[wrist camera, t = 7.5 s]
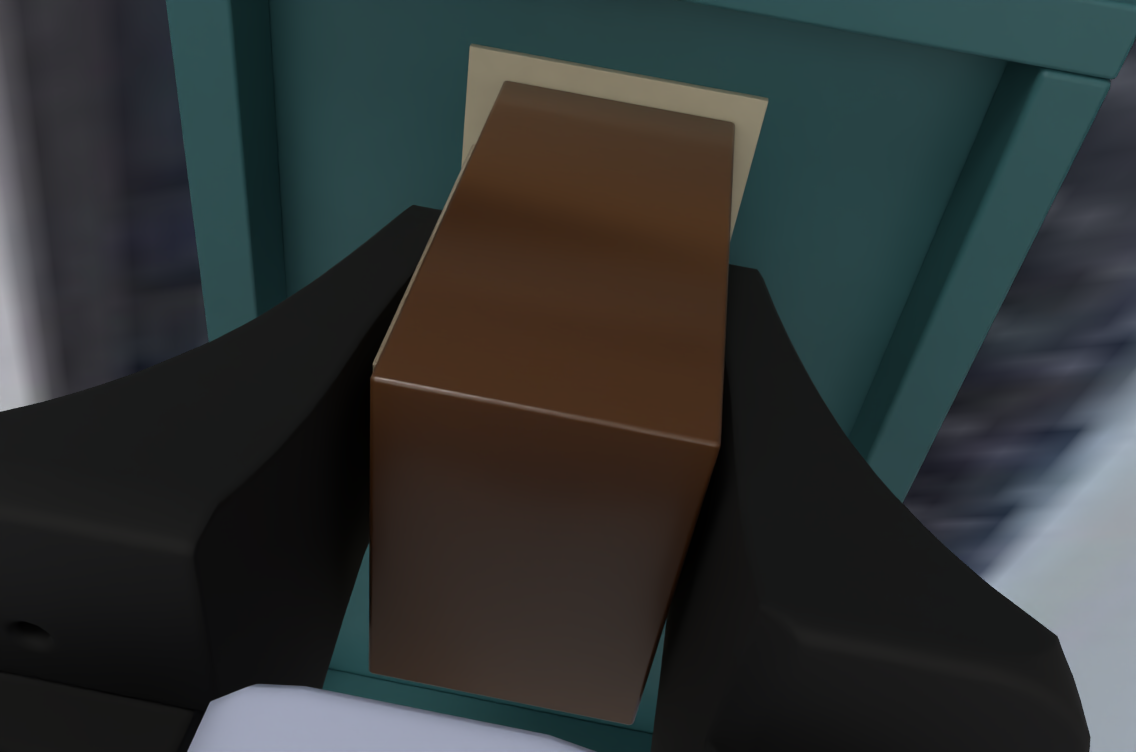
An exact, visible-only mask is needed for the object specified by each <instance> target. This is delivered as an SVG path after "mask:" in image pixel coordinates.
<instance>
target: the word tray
mask: <svg viewBox="0 0 1136 752" xmlns="http://www.w3.org/2000/svg"><path fill="white" fill-rule="evenodd" d="M166 5H167V13H168V21H169V29H170V37H171V45H172V53H173V61H174V69H175V77H176V85H177V93H178V101H179V109H180V117H181V125H182V132H183V140H184V148H185V156H186V164H187V172H188V180H189V188H190V196H191V204H192V212H193V220H194V228H195V236H196V244H197V252H198V259H199V267H200V275H201V283H202V291H203V299H204V307H205V315H206V323H207V331H208V339H209V342H211V341H213V340H215V339H217V338H219V337H221V336H222V335H224V334H226V333H228V332H230V331H232V330H234V329H236V328H238V327H240V326H242V325H244V324H246V323H248V322H249V321H251V320H253V319H255V318H257V317H258V316H260V315H262V314H264V313H265V312H267V311H268V310H270V309H272V308H273V307H275V306H276V305H278V304H279V303H281V302H282V301H284V300H285V299H287V298H288V297H290V296H292V295H293V294H295V293H296V292H298V291H299V290H301V289H302V288H304V287H305V286H307V285H308V284H310V283H311V282H313V281H314V280H315V279H317V278H318V277H320V276H321V275H322V274H324V273H325V272H326V271H328V270H329V269H330V268H332V267H333V266H334V265H336V264H337V263H339V262H340V261H341V260H343V259H344V258H345V257H347V256H348V255H349V254H351V253H352V252H353V251H354V250H356V249H357V248H358V247H360V246H361V245H362V244H363V243H365V242H366V241H367V240H368V239H370V238H371V237H372V236H373V235H375V234H376V233H377V232H378V231H380V230H381V229H382V228H383V227H384V226H386V225H387V224H388V223H389V222H391V221H392V220H393V219H394V218H395V217H397V216H398V215H399V214H401V213H402V212H403V211H404V210H406V209H407V208H409V207H410V206H412V205H417V206H423V207H428V208H433V209H439V210H443V208H444V206H445V204H446V201H447V199H448V197H449V195H450V193H451V190H452V188H453V186H454V184H455V182H456V179H457V177H458V175H459V173H460V171H461V165H462V151H463V136H464V122H465V107H466V92H467V78H468V63H469V48H470V45H471V44H477V45H482V46H488V47H493V48H499V49H504V50H509V51H515V52H520V53H526V54H531V55H537V56H542V57H548V58H553V59H558V60H564V61H569V62H575V63H580V64H586V65H591V66H597V67H602V68H607V69H613V70H618V71H624V72H629V73H635V74H640V75H645V76H651V77H656V78H662V79H667V80H673V81H678V82H684V83H689V84H694V85H700V86H705V87H711V88H716V89H722V90H727V91H733V92H738V93H743V94H749V95H754V96H760V97H765V98H768V105H767V109H766V112H765V116H764V120H763V123H762V127H761V131H760V134H759V138H758V142H757V145H756V149H755V153H754V156H753V160H752V164H751V167H750V171H749V175H748V178H747V182H746V186H745V189H744V193H743V196H742V200H741V204H740V207H739V211H738V215H737V218H736V222H735V226H734V229H733V233H732V237H731V240H730V253H729V264H732V265H737V266H742V267H748V268H753V269H758V271H759V272H760V274H761V276H762V277H763V279H764V281H765V284H766V286H767V289H768V291H769V294H770V296H771V299H772V301H773V303H774V306H775V308H776V310H777V313H778V315H779V317H780V319H781V321H782V324H783V326H784V328H785V330H786V332H787V334H788V336H789V338H790V340H791V342H792V344H793V346H794V348H795V350H796V352H797V354H798V356H799V358H800V360H801V361H802V363H803V365H804V367H805V369H806V371H807V373H808V374H809V376H810V378H811V380H812V382H813V383H814V385H815V387H816V389H817V390H818V392H819V394H820V395H821V397H822V399H823V400H824V402H825V404H826V405H827V407H828V408H829V410H830V411H831V413H832V415H833V416H834V418H835V419H836V421H837V422H838V424H839V425H840V427H841V428H842V430H843V431H844V433H845V434H846V436H847V437H848V439H849V440H850V441H851V443H852V444H853V445H854V447H855V448H856V449H857V450H858V452H859V453H860V454H861V456H862V457H863V458H864V459H865V461H866V462H867V463H868V464H869V466H870V467H871V468H872V470H873V471H874V472H875V473H876V475H877V476H878V477H879V478H880V479H881V480H882V481H883V483H884V484H885V485H886V486H887V487H888V488H889V489H890V491H891V492H892V493H893V494H894V495H895V496H896V497H897V498H898V499H899V500H900V501H901V502H902V503H903V501H904V499H905V497H906V495H907V493H908V491H909V489H910V487H911V485H912V483H913V481H914V479H915V477H916V475H917V473H918V471H919V469H920V467H921V465H922V463H923V461H924V459H925V457H926V455H927V453H928V451H929V449H930V447H931V445H932V443H933V441H934V439H935V437H936V435H937V433H938V431H939V429H940V427H941V425H942V423H943V421H944V419H945V417H946V415H947V413H948V411H949V409H950V407H951V405H952V403H953V401H954V399H955V397H956V395H957V393H958V391H959V389H960V387H961V385H962V383H963V381H964V379H965V377H966V375H967V373H968V371H969V369H970V367H971V365H972V363H973V361H974V359H975V357H976V355H977V353H978V351H979V349H980V347H981V345H982V343H983V341H984V339H985V337H986V335H987V333H988V331H989V329H990V327H991V325H992V323H993V321H994V319H995V317H996V315H997V313H998V311H999V309H1000V307H1001V305H1002V303H1003V301H1004V299H1005V297H1006V295H1007V293H1008V291H1009V289H1010V287H1011V285H1012V283H1013V281H1014V279H1015V277H1016V275H1017V273H1018V271H1019V269H1020V267H1021V265H1022V263H1023V261H1024V259H1025V257H1026V255H1027V253H1028V251H1029V249H1030V247H1031V245H1032V243H1033V241H1034V239H1035V237H1036V235H1037V233H1038V231H1039V229H1040V227H1041V225H1042V223H1043V221H1044V219H1045V217H1046V215H1047V213H1048V211H1049V209H1050V207H1051V205H1052V203H1053V201H1054V199H1055V197H1056V195H1057V193H1058V191H1059V189H1060V187H1061V185H1062V183H1063V181H1064V179H1065V177H1066V175H1067V173H1068V171H1069V169H1070V167H1071V165H1072V163H1073V161H1074V159H1075V157H1076V155H1077V153H1078V151H1079V149H1080V147H1081V145H1082V143H1083V141H1084V139H1085V137H1086V135H1087V133H1088V131H1089V129H1090V127H1091V125H1092V123H1093V121H1094V119H1095V117H1096V115H1097V113H1098V111H1099V109H1100V107H1101V105H1102V103H1103V101H1104V99H1105V97H1106V95H1107V93H1108V91H1109V89H1110V82H1111V81H1110V79H1115V78H1116V76H1117V75H1118V73H1119V71H1120V69H1121V67H1122V65H1123V63H1124V61H1125V59H1126V57H1127V55H1128V53H1129V51H1130V49H1131V47H1132V45H1133V43H1134V41H1135V39H1136V0H166ZM665 628H666V622H665V625H664V628H663V632H662V635H661V638H660V641H659V644H658V648H657V651H656V654H655V657H654V660H653V663H652V667H651V670H650V673H649V676H648V679H647V682H646V686H645V689H644V692H643V695H642V698H641V702H640V705H639V708H638V711H637V714H636V717H635V721H634V722H633V724H632V725H627V724H622V723H617V722H612V721H607V720H602V719H597V718H592V717H587V716H582V715H577V714H572V713H567V712H562V711H557V710H552V709H547V708H542V707H537V706H532V705H527V704H522V703H517V702H512V701H507V700H502V699H497V698H492V697H487V696H482V695H477V694H472V693H467V692H462V691H457V690H452V689H447V688H442V687H438V686H433V685H428V684H423V683H418V682H413V681H408V680H403V679H398V678H393V677H388V676H383V675H378V674H373V673H371V672H370V671H369V544H368V546H367V549H366V551H365V554H364V557H363V560H362V563H361V566H360V569H359V572H358V575H357V579H356V582H355V585H354V588H353V591H352V594H351V597H350V600H349V603H348V607H347V610H346V613H345V616H344V619H343V622H342V626H341V629H340V632H339V635H338V639H337V642H336V645H335V648H334V652H333V655H332V658H331V661H330V665H329V668H328V671H327V674H326V678H325V681H324V684H323V688H322V689H323V690H328V691H333V692H338V693H343V694H348V695H353V696H358V697H363V698H368V699H373V700H378V701H383V702H388V703H393V704H398V705H403V706H408V707H413V708H418V709H423V710H428V711H433V712H437V713H442V714H447V715H452V716H457V717H462V718H467V719H472V720H477V721H482V722H487V723H492V724H497V725H502V726H507V727H512V728H517V729H522V730H527V731H532V732H537V733H542V734H547V735H551V736H554V737H557V738H559V739H562V740H565V741H568V742H571V743H573V744H576V745H579V746H582V747H585V748H588V749H590V750H593V751H596V752H651V744H652V736H653V728H654V720H655V712H656V704H657V696H658V688H659V680H660V671H661V662H662V654H663V645H664V637H665Z"/></svg>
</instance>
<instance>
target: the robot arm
mask: <svg viewBox="0 0 1136 752" xmlns="http://www.w3.org/2000/svg"><path fill="white" fill-rule="evenodd" d="M441 212H442V210H439V209H433V208H428V207H423V206H417V205H412V206H410V207H409V208H407V209H406V210H404V211H403V212H402V213H401V214H399V215H398V216H397V217H395V218H394V219H393V220H392V221H391V222H389V223H388V224H387V225H386V226H384V227H383V228H382V229H381V230H380V231H378V232H377V233H376V234H375V235H373V236H372V237H371V238H370V239H368V240H367V241H366V242H365V243H363V244H362V245H361V246H360V247H358V248H357V249H356V250H354V251H353V252H352V253H351V254H349V255H348V256H347V257H345V258H344V259H343V260H341V261H340V262H339V263H337V264H336V265H334V266H333V267H332V268H330V269H329V270H328V271H326V272H325V273H324V274H322V275H321V276H320V277H318V278H317V279H315V280H314V281H313V282H311V283H310V284H308V285H307V286H305V287H304V288H302V289H301V290H299V291H298V292H296V293H295V294H293V295H292V296H290V297H288V298H287V299H285V300H284V301H282V302H281V303H279V304H278V305H276V306H275V307H273V308H272V309H270V310H268V311H267V312H265V313H264V314H262V315H260V316H258V317H257V318H255V319H253V320H251V321H249V322H248V323H246V324H244V325H242V326H240V327H238V328H236V329H234V330H232V331H230V332H228V333H226V334H224V335H222V336H221V337H219V338H217V339H215V340H213V341H211V342H208V343H206V344H204V345H202V346H200V347H197V348H195V349H193V350H190V351H188V352H185V353H183V354H181V355H178V356H176V357H173V358H171V359H169V360H166V361H164V362H161V363H159V364H157V365H154V366H152V367H149V368H147V369H145V370H142V371H140V372H137V373H134V374H131V375H128V376H126V377H123V378H120V379H117V380H114V381H111V382H108V383H105V384H102V385H99V386H96V387H93V388H89V389H86V390H83V391H79V392H76V393H73V394H70V395H66V396H63V397H59V398H55V399H52V400H48V401H45V402H41V403H36V404H32V405H28V406H24V407H19V408H15V409H11V410H6V411H2V412H0V752H596V751H593V750H590V749H588V748H585V747H582V746H579V745H576V744H573V743H571V742H568V741H565V740H562V739H559V738H557V737H554V736H551V735H547V734H542V733H537V732H532V731H527V730H522V729H517V728H512V727H507V726H502V725H497V724H492V723H487V722H482V721H477V720H472V719H467V718H462V717H457V716H452V715H447V714H442V713H437V712H433V711H428V710H423V709H418V708H413V707H408V706H403V705H398V704H393V703H388V702H383V701H378V700H373V699H368V698H363V697H358V696H353V695H348V694H343V693H338V692H333V691H328V690H323V689H322V688H323V684H324V681H325V678H326V674H327V671H328V668H329V665H330V661H331V658H332V655H333V652H334V648H335V645H336V642H337V639H338V635H339V632H340V629H341V626H342V622H343V619H344V616H345V613H346V610H347V607H348V603H349V600H350V597H351V594H352V591H353V588H354V585H355V582H356V579H357V575H358V572H359V569H360V566H361V563H362V560H363V557H364V554H365V551H366V549H367V546H368V544H369V502H370V377H371V375H372V373H373V362H374V359H375V357H376V355H377V353H378V351H379V348H380V346H381V344H382V342H383V340H384V337H385V335H386V333H387V331H388V329H389V326H390V324H391V322H392V320H393V318H394V315H395V313H396V311H397V309H398V307H399V304H400V302H401V300H402V298H403V296H404V293H405V291H406V289H407V287H408V285H409V283H410V280H411V278H412V276H413V274H414V272H415V269H416V267H417V265H418V263H419V261H420V258H421V256H422V254H423V252H424V250H425V247H426V245H427V243H428V241H429V239H430V236H431V234H432V232H433V230H434V228H435V225H436V223H437V221H438V219H439V217H440V215H441ZM1089 749H1090V734H1089V730H1088V727H1087V723H1086V719H1085V715H1084V712H1083V708H1082V704H1081V700H1080V697H1079V694H1078V691H1077V687H1076V684H1075V681H1074V678H1073V675H1072V673H1071V670H1070V668H1069V665H1068V663H1067V660H1066V658H1065V655H1064V653H1063V651H1062V648H1061V645H1060V642H1059V639H1058V637H1057V636H1056V635H1055V634H1054V633H1052V632H1051V631H1050V630H1048V629H1047V628H1046V627H1044V626H1043V625H1042V624H1040V623H1039V622H1038V621H1036V620H1035V619H1034V618H1032V617H1031V616H1030V615H1029V614H1027V613H1026V612H1025V611H1023V610H1022V609H1021V608H1019V607H1018V606H1017V605H1015V604H1014V603H1013V602H1011V601H1010V600H1009V599H1007V598H1006V597H1005V596H1003V595H1002V594H1001V593H999V592H998V591H997V590H995V589H994V588H993V587H991V586H990V585H989V584H988V583H987V582H985V581H984V580H983V579H982V578H981V577H979V576H978V575H977V574H976V573H975V572H974V571H973V570H971V569H970V568H969V567H968V566H967V565H966V564H965V563H963V562H962V561H961V560H960V559H959V558H958V557H957V556H955V555H954V554H953V553H952V552H951V551H950V550H949V549H948V548H946V547H945V546H944V545H943V544H942V543H941V542H940V541H939V540H938V539H937V538H936V537H935V536H934V535H933V534H932V533H931V532H930V531H929V530H928V529H927V528H926V527H924V526H923V525H922V523H921V522H920V521H919V520H918V519H917V518H916V517H915V516H914V515H913V514H912V513H911V512H910V511H909V510H908V509H907V508H906V507H905V506H904V505H903V503H902V502H901V501H900V500H899V499H898V498H897V497H896V496H895V495H894V494H893V493H892V492H891V491H890V489H889V488H888V487H887V486H886V485H885V484H884V483H883V481H882V480H881V479H880V478H879V477H878V476H877V475H876V473H875V472H874V471H873V470H872V468H871V467H870V466H869V464H868V463H867V462H866V461H865V459H864V458H863V457H862V456H861V454H860V453H859V452H858V450H857V449H856V448H855V447H854V445H853V444H852V443H851V441H850V440H849V439H848V437H847V436H846V434H845V433H844V431H843V430H842V428H841V427H840V425H839V424H838V422H837V421H836V419H835V418H834V416H833V415H832V413H831V411H830V410H829V408H828V407H827V405H826V404H825V402H824V400H823V399H822V397H821V395H820V394H819V392H818V390H817V389H816V387H815V385H814V383H813V382H812V380H811V378H810V376H809V374H808V373H807V371H806V369H805V367H804V365H803V363H802V361H801V360H800V358H799V356H798V354H797V352H796V350H795V348H794V346H793V344H792V342H791V340H790V338H789V336H788V334H787V332H786V330H785V328H784V326H783V324H782V321H781V319H780V317H779V315H778V313H777V310H776V308H775V306H774V303H773V301H772V299H771V296H770V294H769V291H768V289H767V286H766V284H765V281H764V279H763V277H762V276H761V274H760V272H759V271H758V269H753V268H748V267H742V266H737V265H732V264H729V275H728V298H727V320H726V343H725V365H724V388H723V410H722V433H721V447H720V450H719V454H718V457H717V460H716V463H715V466H714V469H713V473H712V476H711V479H710V482H709V485H708V489H707V492H706V495H705V498H704V501H703V504H702V508H701V511H700V514H699V517H698V520H697V524H696V527H695V530H694V533H693V536H692V539H691V543H690V546H689V549H688V552H687V555H686V559H685V562H684V565H683V568H682V571H681V574H680V578H679V581H678V584H677V587H676V590H675V593H674V597H673V600H672V603H671V606H670V609H669V613H668V616H667V619H666V628H665V637H664V645H663V654H662V662H661V671H660V680H659V688H658V696H657V704H656V712H655V720H654V728H653V736H652V744H651V752H1089Z"/></svg>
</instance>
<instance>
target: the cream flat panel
mask: <svg viewBox="0 0 1136 752" xmlns="http://www.w3.org/2000/svg"><path fill="white" fill-rule="evenodd" d="M504 81H512V82H517V83H523V84H528V85H533V86H539V87H544V88H550V89H555V90H560V91H566V92H571V93H577V94H582V95H587V96H593V97H598V98H604V99H609V100H614V101H620V102H625V103H631V104H636V105H641V106H647V107H652V108H658V109H663V110H668V111H674V112H679V113H685V114H690V115H696V116H701V117H706V118H712V119H717V120H723V121H728V122H732V123H734V124H735V140H734V163H733V185H732V208H731V230H730V240H731V237H732V233H733V229H734V226H735V222H736V218H737V215H738V211H739V207H740V204H741V200H742V196H743V193H744V189H745V186H746V182H747V178H748V175H749V171H750V167H751V164H752V160H753V156H754V153H755V149H756V145H757V142H758V138H759V134H760V131H761V127H762V123H763V120H764V116H765V112H766V109H767V105H768V98H765V97H760V96H754V95H749V94H743V93H738V92H733V91H727V90H722V89H716V88H711V87H705V86H700V85H694V84H689V83H684V82H678V81H673V80H667V79H662V78H656V77H651V76H645V75H640V74H635V73H629V72H624V71H618V70H613V69H607V68H602V67H597V66H591V65H586V64H580V63H575V62H569V61H564V60H558V59H553V58H548V57H542V56H537V55H531V54H526V53H520V52H515V51H509V50H504V49H499V48H493V47H488V46H482V45H477V44H471V45H470V48H469V63H468V78H467V92H466V107H465V122H464V136H463V151H462V165H461V168H462V166H463V164H464V162H465V160H466V157H467V155H468V153H469V151H470V149H471V147H472V145H473V144H476V142H477V140H478V138H479V136H480V133H481V131H482V129H483V127H484V124H485V122H486V120H487V118H488V116H489V113H490V111H491V109H492V107H493V105H494V102H495V100H496V98H497V96H498V93H499V91H500V89H501V87H502V85H503V83H504Z"/></svg>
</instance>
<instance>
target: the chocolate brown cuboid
mask: <svg viewBox="0 0 1136 752" xmlns="http://www.w3.org/2000/svg"><path fill="white" fill-rule="evenodd" d="M734 140H735V124H734V123H732V122H728V121H723V120H717V119H712V118H706V117H701V116H696V115H690V114H685V113H679V112H674V111H668V110H663V109H658V108H652V107H647V106H641V105H636V104H631V103H625V102H620V101H614V100H609V99H604V98H598V97H593V96H587V95H582V94H577V93H571V92H566V91H560V90H555V89H550V88H544V87H539V86H533V85H528V84H523V83H517V82H512V81H504V83H503V85H502V87H501V89H500V91H499V93H498V96H497V98H496V100H495V102H494V105H493V107H492V109H491V111H490V113H489V116H488V118H487V120H486V122H485V124H484V127H483V129H482V131H481V133H480V136H479V138H478V140H477V142H476V144H473V145H472V147H471V149H470V151H469V153H468V155H467V157H466V160H465V162H464V164H463V166H462V168H461V171H460V173H459V175H458V177H457V179H456V182H455V184H454V186H453V188H452V190H451V193H450V195H449V197H448V199H447V201H446V204H445V206H444V208H443V210H442V212H441V215H440V217H439V219H438V221H437V223H436V225H435V228H434V230H433V232H432V234H431V236H430V239H429V241H428V243H427V245H426V247H425V250H424V252H423V254H422V256H421V258H420V261H419V263H418V265H417V267H416V269H415V272H414V274H413V276H412V278H411V280H410V283H409V285H408V287H407V289H406V291H405V293H404V296H403V298H402V300H401V302H400V304H399V307H398V309H397V311H396V313H395V315H394V318H393V320H392V322H391V324H390V326H389V329H388V331H387V333H386V335H385V337H384V340H383V342H382V344H381V346H380V348H379V351H378V353H377V355H376V357H375V359H374V362H373V373H372V375H371V377H370V502H369V671H370V672H371V673H373V674H378V675H383V676H388V677H393V678H398V679H403V680H408V681H413V682H418V683H423V684H428V685H433V686H438V687H442V688H447V689H452V690H457V691H462V692H467V693H472V694H477V695H482V696H487V697H492V698H497V699H502V700H507V701H512V702H517V703H522V704H527V705H532V706H537V707H542V708H547V709H552V710H557V711H562V712H567V713H572V714H577V715H582V716H587V717H592V718H597V719H602V720H607V721H612V722H617V723H622V724H627V725H632V724H633V722H634V721H635V717H636V714H637V711H638V708H639V705H640V702H641V698H642V695H643V692H644V689H645V686H646V682H647V679H648V676H649V673H650V670H651V667H652V663H653V660H654V657H655V654H656V651H657V648H658V644H659V641H660V638H661V635H662V632H663V628H664V625H665V622H666V619H667V616H668V613H669V609H670V606H671V603H672V600H673V597H674V593H675V590H676V587H677V584H678V581H679V578H680V574H681V571H682V568H683V565H684V562H685V559H686V555H687V552H688V549H689V546H690V543H691V539H692V536H693V533H694V530H695V527H696V524H697V520H698V517H699V514H700V511H701V508H702V504H703V501H704V498H705V495H706V492H707V489H708V485H709V482H710V479H711V476H712V473H713V469H714V466H715V463H716V460H717V457H718V454H719V450H720V447H721V433H722V410H723V388H724V365H725V343H726V320H727V298H728V275H729V253H730V230H731V208H732V185H733V163H734Z"/></svg>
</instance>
